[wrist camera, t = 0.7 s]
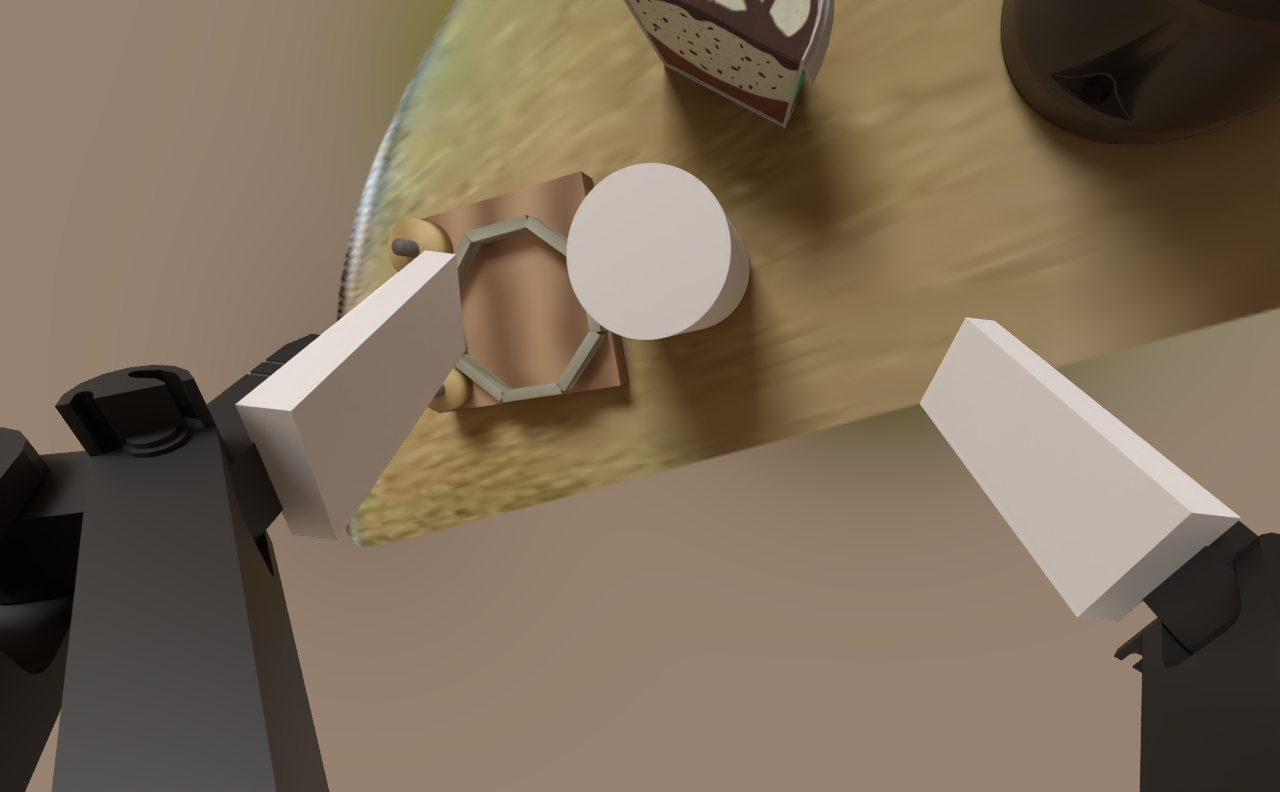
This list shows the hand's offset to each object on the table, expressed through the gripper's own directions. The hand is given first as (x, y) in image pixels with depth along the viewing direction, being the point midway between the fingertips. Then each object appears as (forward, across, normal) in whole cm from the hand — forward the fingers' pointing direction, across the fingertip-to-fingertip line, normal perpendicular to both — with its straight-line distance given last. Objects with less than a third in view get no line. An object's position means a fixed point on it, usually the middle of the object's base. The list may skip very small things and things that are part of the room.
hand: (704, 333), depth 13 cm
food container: (+27, +4, +7) cm, 28 cm away
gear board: (+24, -11, -11) cm, 29 cm away
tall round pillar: (+22, +2, -6) cm, 23 cm away
